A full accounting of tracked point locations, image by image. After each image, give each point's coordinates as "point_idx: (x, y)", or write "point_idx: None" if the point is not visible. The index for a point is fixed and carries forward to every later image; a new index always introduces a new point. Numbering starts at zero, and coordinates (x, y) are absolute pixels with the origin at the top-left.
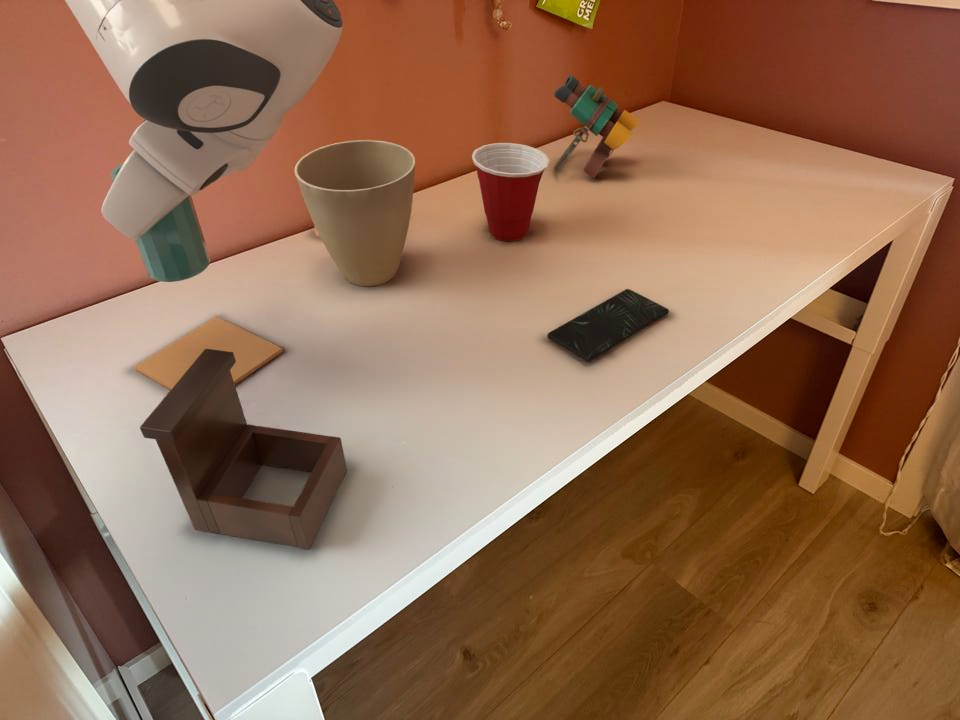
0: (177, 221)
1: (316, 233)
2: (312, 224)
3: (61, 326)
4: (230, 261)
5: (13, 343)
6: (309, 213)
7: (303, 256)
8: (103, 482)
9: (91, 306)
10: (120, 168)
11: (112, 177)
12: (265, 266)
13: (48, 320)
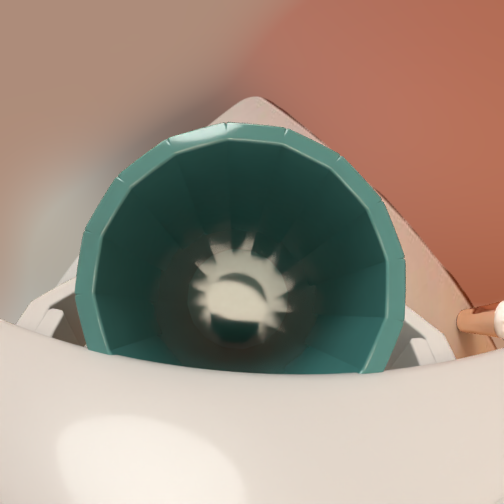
0: None
1: (460, 315)
2: (468, 310)
3: (274, 123)
4: (412, 240)
5: (244, 100)
6: (476, 309)
7: (430, 318)
8: (74, 274)
9: (310, 134)
10: (243, 143)
11: (133, 162)
12: (411, 284)
13: (281, 109)
